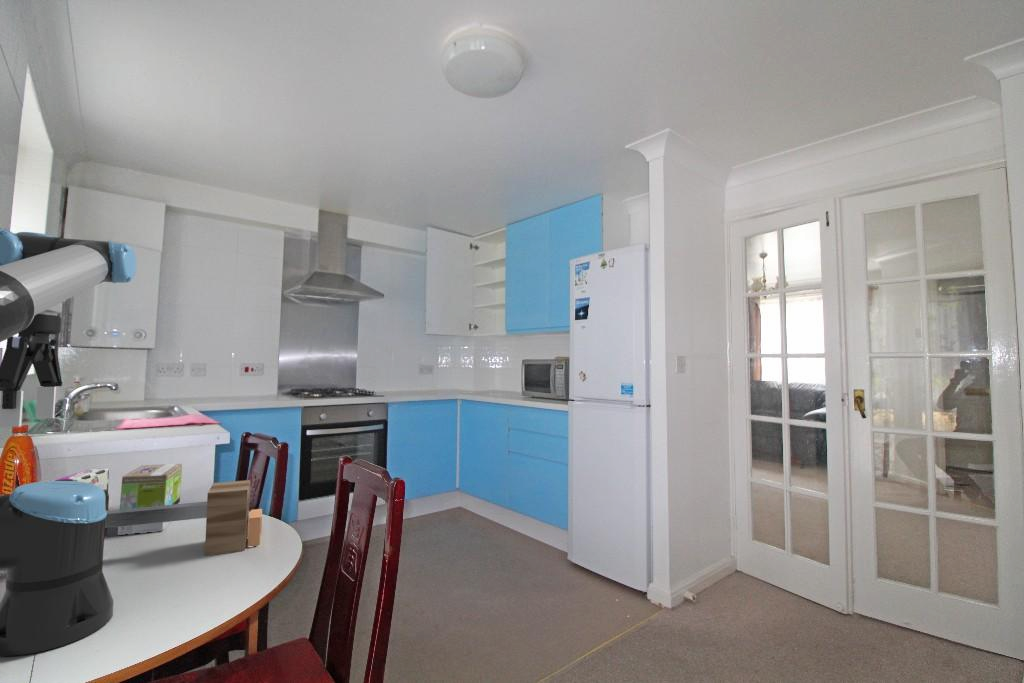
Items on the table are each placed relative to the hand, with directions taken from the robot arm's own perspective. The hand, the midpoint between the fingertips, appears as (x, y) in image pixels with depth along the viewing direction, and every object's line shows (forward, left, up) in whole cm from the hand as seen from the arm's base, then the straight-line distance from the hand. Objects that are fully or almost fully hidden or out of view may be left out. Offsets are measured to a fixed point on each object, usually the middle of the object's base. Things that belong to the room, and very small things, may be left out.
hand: (28, 422), depth 94 cm
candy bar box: (+25, -2, -32) cm, 40 cm away
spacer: (+10, -40, -32) cm, 52 cm away
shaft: (+10, -19, -25) cm, 33 cm away
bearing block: (+10, -34, -32) cm, 47 cm away
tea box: (+34, -14, -32) cm, 49 cm away
